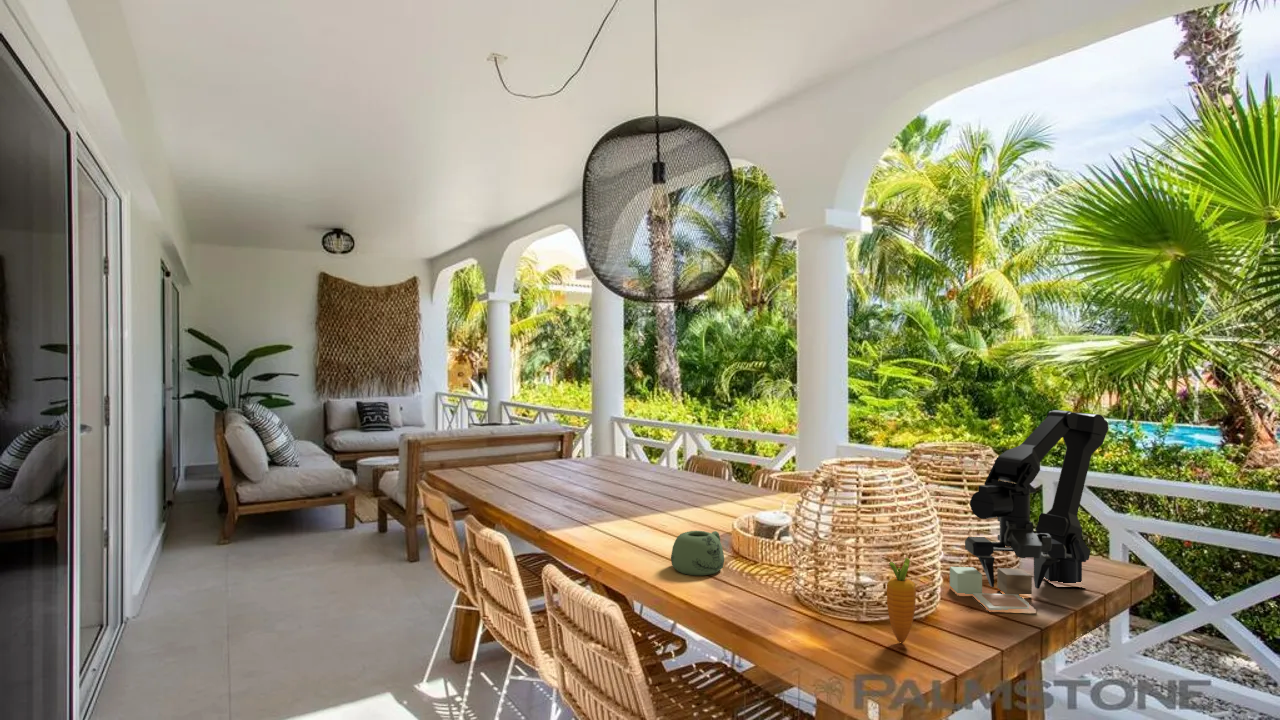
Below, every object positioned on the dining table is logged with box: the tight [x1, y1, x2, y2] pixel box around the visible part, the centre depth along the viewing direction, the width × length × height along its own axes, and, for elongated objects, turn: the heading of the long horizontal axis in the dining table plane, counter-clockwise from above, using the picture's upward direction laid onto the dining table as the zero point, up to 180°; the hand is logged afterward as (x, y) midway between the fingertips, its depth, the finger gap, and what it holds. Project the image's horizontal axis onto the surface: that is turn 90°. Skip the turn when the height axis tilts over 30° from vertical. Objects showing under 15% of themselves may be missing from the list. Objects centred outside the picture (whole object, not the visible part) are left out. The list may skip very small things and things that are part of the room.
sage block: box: [949, 566, 983, 594], centre depth 153 cm, size 5×5×5 cm
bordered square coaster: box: [973, 592, 1030, 610], centre depth 145 cm, size 9×9×1 cm
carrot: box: [886, 557, 917, 644], centre depth 126 cm, size 5×5×15 cm
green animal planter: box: [670, 530, 725, 577], centre depth 172 cm, size 16×13×9 cm
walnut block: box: [996, 567, 1033, 595], centre depth 152 cm, size 5×5×5 cm
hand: (1014, 587), depth 152 cm, fingers open, 9 cm apart
